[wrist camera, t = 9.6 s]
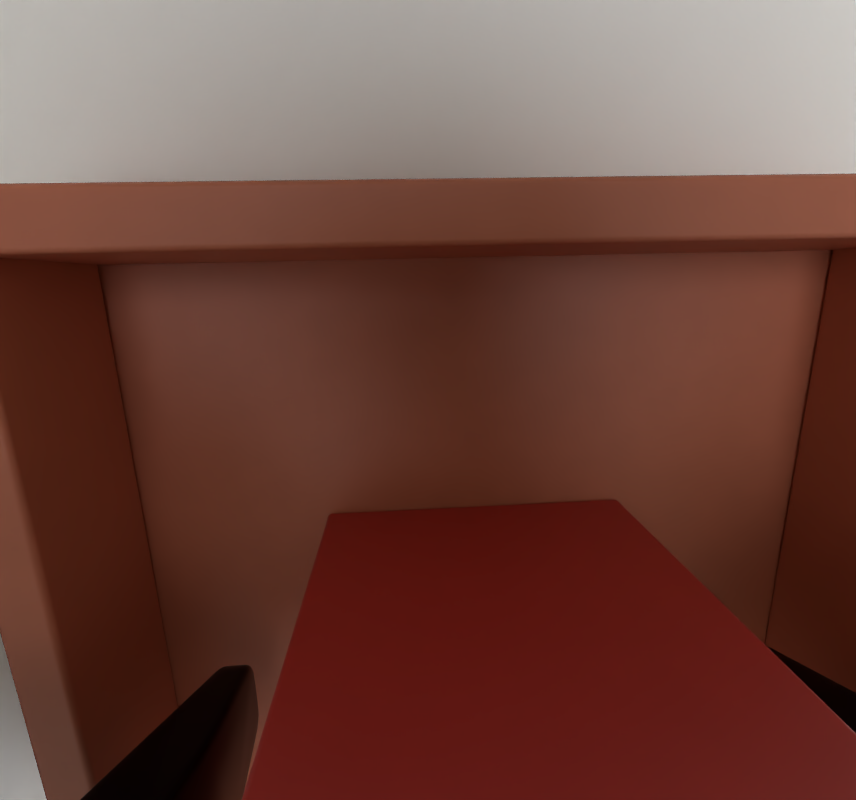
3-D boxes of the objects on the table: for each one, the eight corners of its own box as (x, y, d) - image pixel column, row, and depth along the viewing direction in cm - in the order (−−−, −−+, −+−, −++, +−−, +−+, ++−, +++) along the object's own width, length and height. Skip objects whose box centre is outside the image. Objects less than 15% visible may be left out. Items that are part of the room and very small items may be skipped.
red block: (347, 747, 8) (288, 1273, 4) (328, 512, 7) (216, 867, 3) (599, 728, 8) (814, 1202, 4) (617, 498, 7) (933, 803, 3)
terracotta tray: (201, 910, 10) (133, 1122, 7) (68, 222, 6) (-131, 183, 4) (731, 860, 10) (835, 1041, 8) (845, 209, 7) (1080, 169, 5)
